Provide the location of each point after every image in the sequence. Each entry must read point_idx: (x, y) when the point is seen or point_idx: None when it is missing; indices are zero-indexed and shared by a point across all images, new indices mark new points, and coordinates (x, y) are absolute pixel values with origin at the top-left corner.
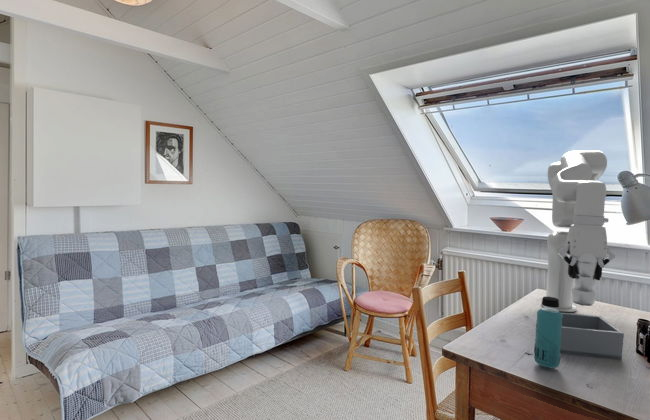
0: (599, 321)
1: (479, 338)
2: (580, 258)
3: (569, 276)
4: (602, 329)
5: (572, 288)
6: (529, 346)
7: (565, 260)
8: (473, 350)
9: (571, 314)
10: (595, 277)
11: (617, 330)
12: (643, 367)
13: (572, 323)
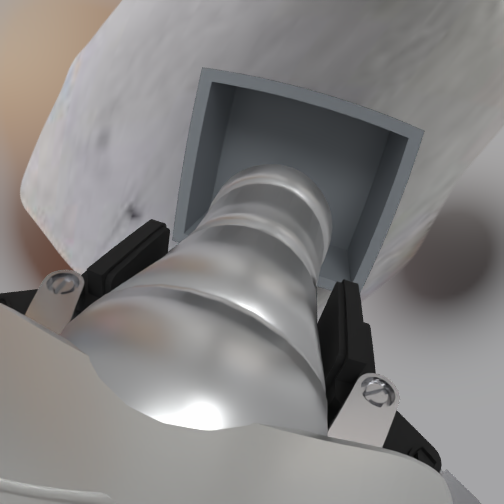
0: (401, 147)
1: (63, 135)
2: None
3: (154, 222)
4: (387, 171)
5: (214, 201)
6: (150, 171)
7: (21, 303)
8: (47, 200)
9: (304, 101)
10: (319, 325)
11: (359, 276)
12: (369, 293)
13: (312, 104)
